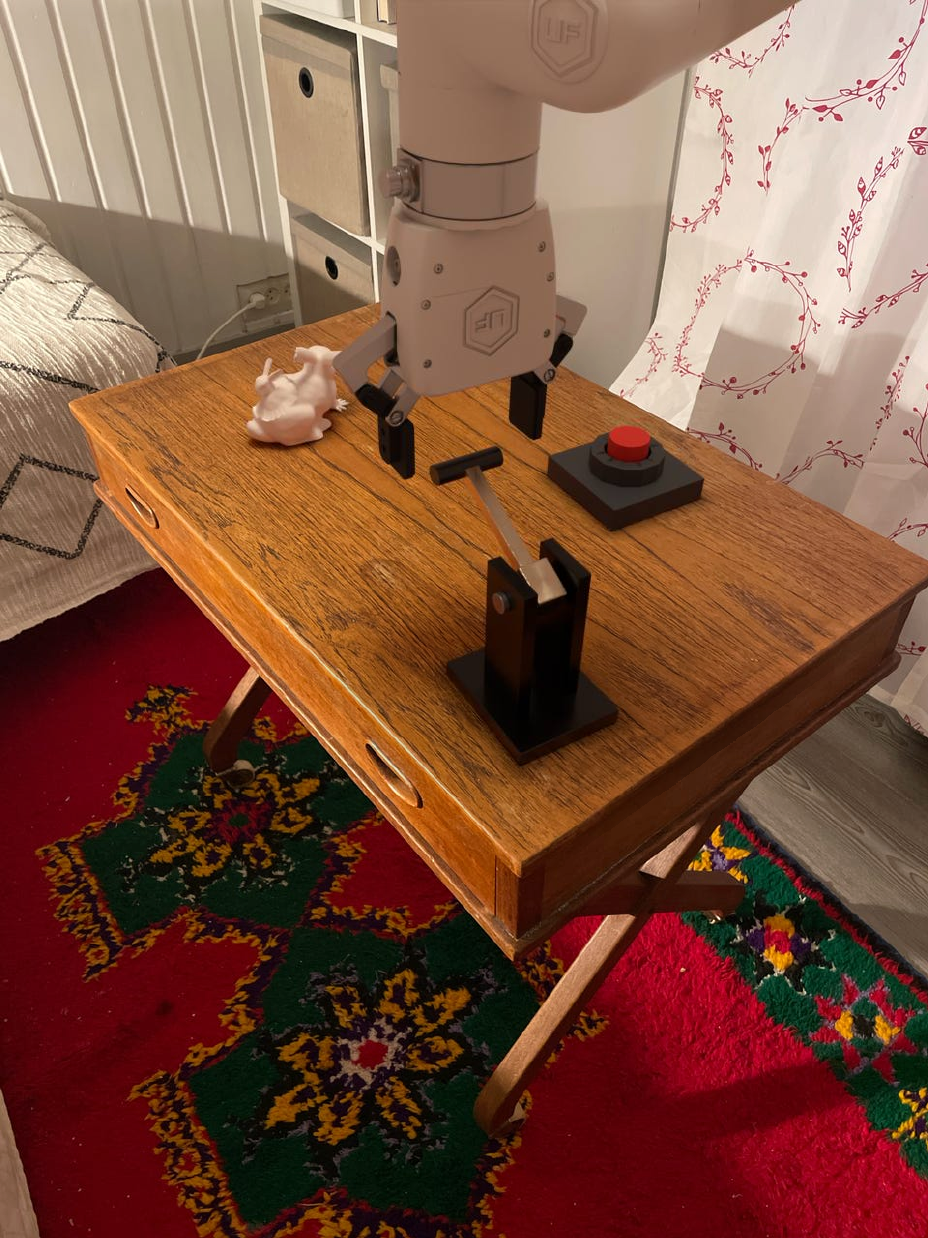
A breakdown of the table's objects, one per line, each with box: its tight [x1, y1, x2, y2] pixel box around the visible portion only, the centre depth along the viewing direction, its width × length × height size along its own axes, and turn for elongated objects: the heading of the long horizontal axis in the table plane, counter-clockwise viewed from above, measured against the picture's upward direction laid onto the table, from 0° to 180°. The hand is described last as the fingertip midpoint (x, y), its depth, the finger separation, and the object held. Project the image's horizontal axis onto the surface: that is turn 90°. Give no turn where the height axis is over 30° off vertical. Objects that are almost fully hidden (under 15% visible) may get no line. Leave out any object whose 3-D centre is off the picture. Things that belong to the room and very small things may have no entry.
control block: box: [546, 431, 705, 532], centre depth 87 cm, size 10×10×4 cm
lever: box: [428, 445, 567, 617], centre depth 63 cm, size 12×5×2 cm, turn 30°
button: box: [607, 425, 651, 462], centre depth 86 cm, size 4×4×2 cm
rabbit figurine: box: [246, 345, 350, 446], centre depth 92 cm, size 12×8×10 cm, turn 125°
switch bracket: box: [445, 537, 619, 766], centre depth 65 cm, size 10×8×12 cm
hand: (463, 448), depth 64 cm, fingers open, 9 cm apart
